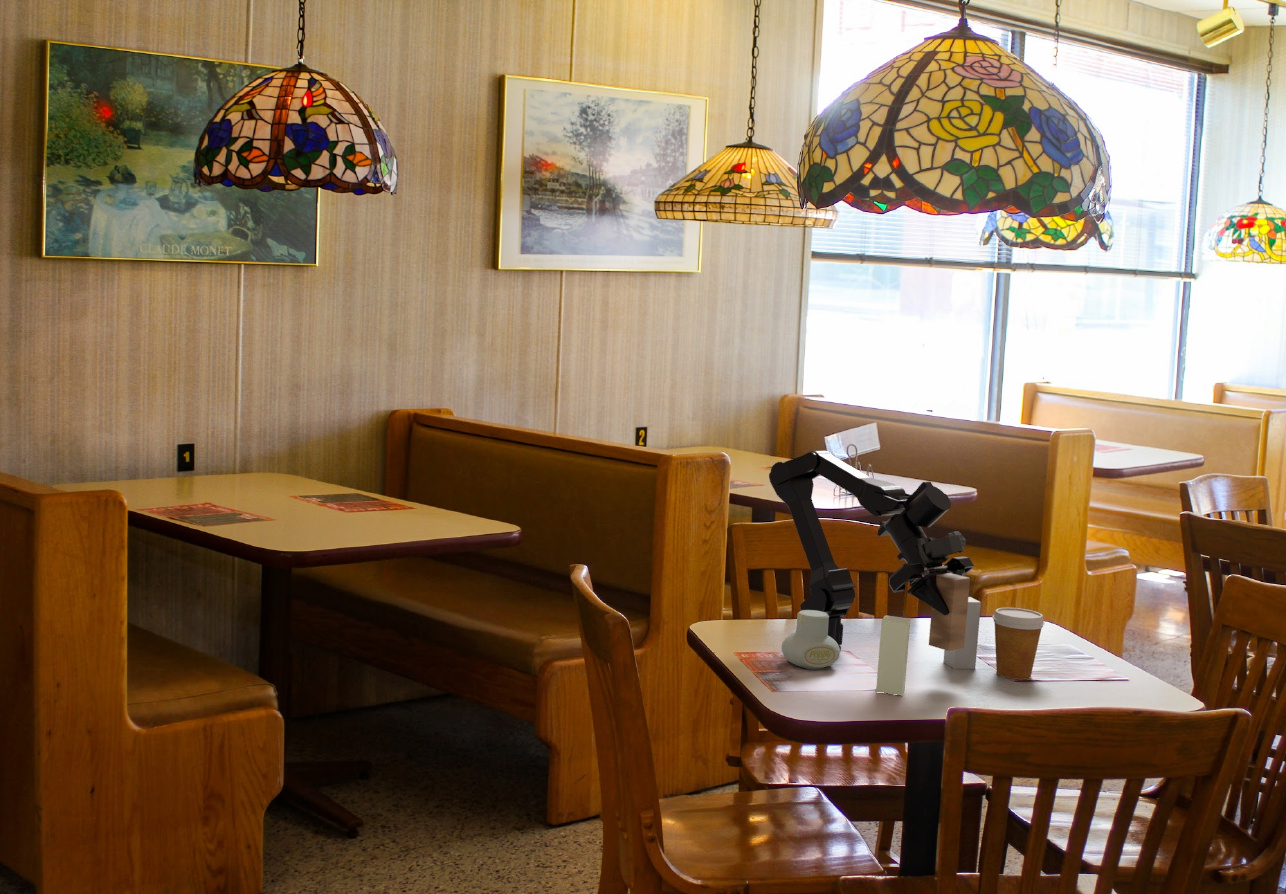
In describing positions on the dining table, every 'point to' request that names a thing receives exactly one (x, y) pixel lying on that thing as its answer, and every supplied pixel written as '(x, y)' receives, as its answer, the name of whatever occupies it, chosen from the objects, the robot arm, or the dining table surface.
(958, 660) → the grey post
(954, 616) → the walnut post
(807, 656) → the air freshener
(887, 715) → the dining table surface
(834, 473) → the robot arm
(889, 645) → the sage post
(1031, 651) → the disposable coffee cup
